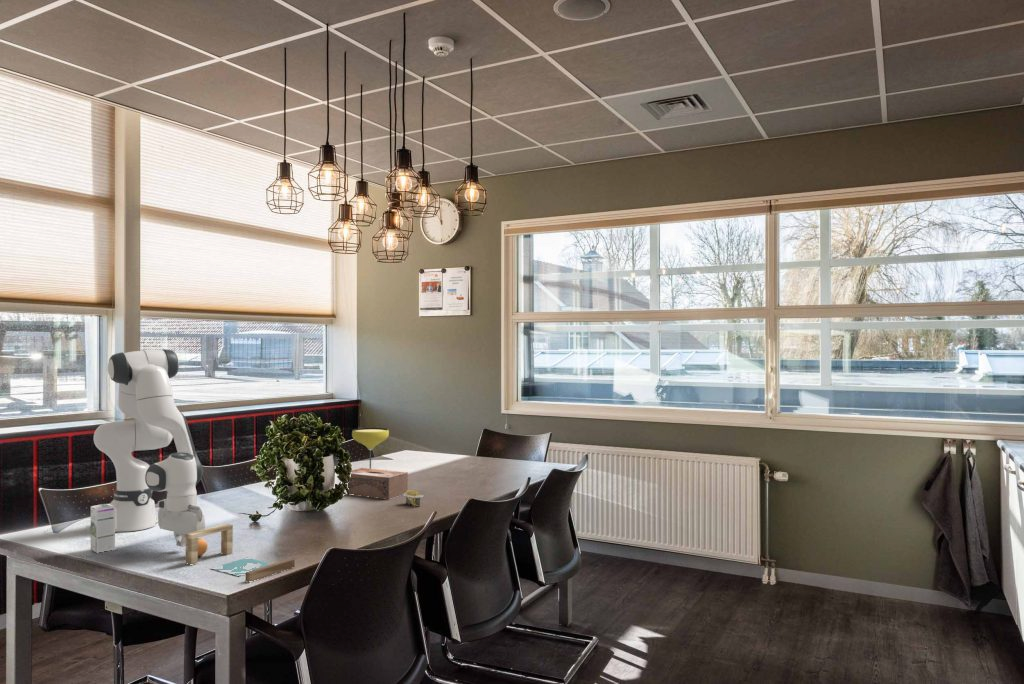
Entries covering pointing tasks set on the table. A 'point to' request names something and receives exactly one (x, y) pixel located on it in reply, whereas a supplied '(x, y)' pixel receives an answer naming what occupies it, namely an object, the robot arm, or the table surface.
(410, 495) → the plastic food container
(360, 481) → the tissue box cover
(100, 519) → the syrup box
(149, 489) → the robot arm
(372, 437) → the cocktail glass
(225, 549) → the bridge
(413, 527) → the table surface
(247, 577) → the stopper wall
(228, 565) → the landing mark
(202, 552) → the ball
